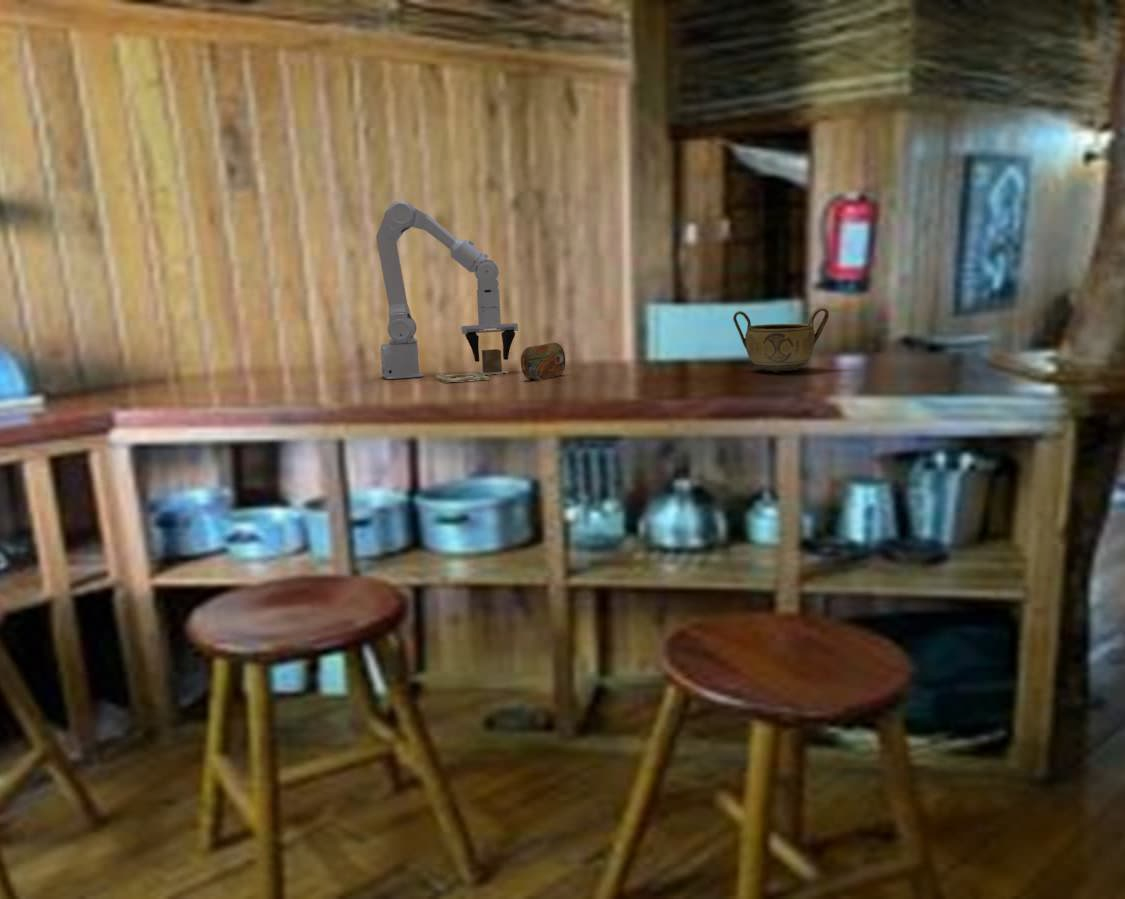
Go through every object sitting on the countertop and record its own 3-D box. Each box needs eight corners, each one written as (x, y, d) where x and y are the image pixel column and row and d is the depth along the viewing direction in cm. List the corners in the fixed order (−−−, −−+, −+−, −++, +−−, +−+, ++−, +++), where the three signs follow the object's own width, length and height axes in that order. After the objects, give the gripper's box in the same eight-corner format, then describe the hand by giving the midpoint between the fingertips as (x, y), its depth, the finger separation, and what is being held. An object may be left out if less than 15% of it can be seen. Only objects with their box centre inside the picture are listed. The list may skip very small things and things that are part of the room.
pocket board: (445, 383, 237) (445, 380, 237) (435, 378, 249) (435, 375, 248) (489, 380, 241) (489, 377, 241) (477, 375, 252) (477, 372, 252)
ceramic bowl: (825, 366, 244) (825, 305, 241) (830, 374, 228) (831, 309, 225) (733, 368, 248) (733, 308, 245) (732, 376, 232) (732, 311, 229)
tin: (529, 382, 235) (527, 346, 234) (519, 381, 237) (517, 346, 236) (567, 375, 247) (565, 341, 245) (557, 374, 249) (555, 341, 247)
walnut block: (486, 372, 253) (485, 351, 252) (482, 371, 256) (481, 350, 255) (501, 371, 254) (500, 350, 253) (497, 370, 258) (496, 349, 257)
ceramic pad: (482, 375, 251) (482, 373, 251) (475, 373, 258) (475, 371, 258) (508, 373, 253) (508, 371, 253) (501, 371, 260) (501, 369, 260)
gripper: (464, 309, 247) (467, 363, 249) (520, 306, 251) (522, 359, 254) (458, 308, 253) (461, 361, 256) (512, 305, 258) (515, 357, 260)
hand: (491, 360), depth 255 cm, fingers open, 7 cm apart
